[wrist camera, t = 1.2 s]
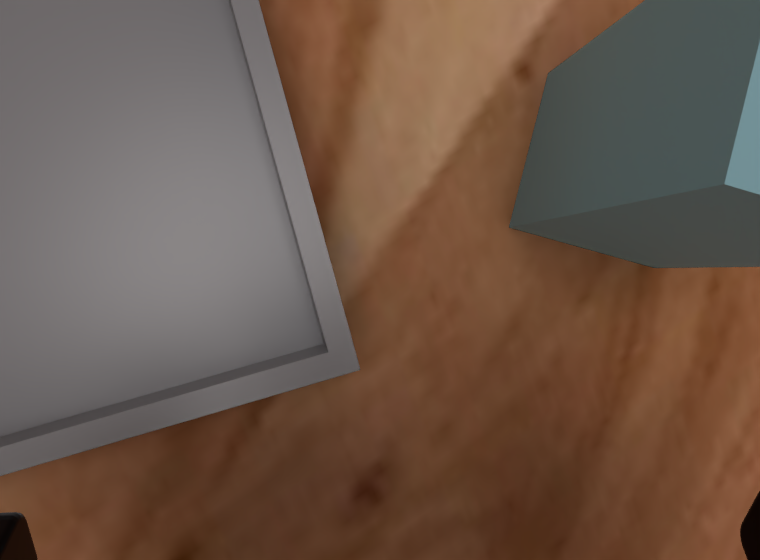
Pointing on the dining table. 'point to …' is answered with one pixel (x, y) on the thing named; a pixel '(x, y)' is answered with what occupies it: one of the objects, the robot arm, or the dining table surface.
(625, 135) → the light blue block
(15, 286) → the grey footed tray
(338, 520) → the dining table surface
